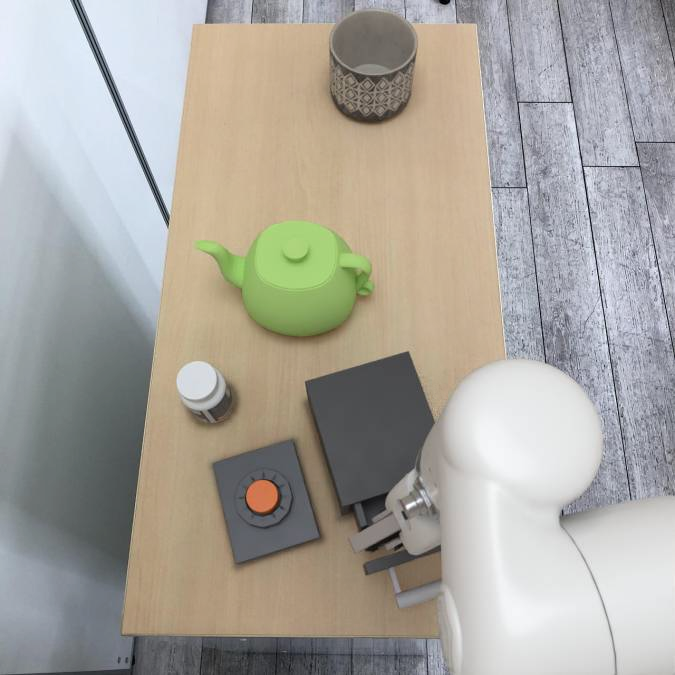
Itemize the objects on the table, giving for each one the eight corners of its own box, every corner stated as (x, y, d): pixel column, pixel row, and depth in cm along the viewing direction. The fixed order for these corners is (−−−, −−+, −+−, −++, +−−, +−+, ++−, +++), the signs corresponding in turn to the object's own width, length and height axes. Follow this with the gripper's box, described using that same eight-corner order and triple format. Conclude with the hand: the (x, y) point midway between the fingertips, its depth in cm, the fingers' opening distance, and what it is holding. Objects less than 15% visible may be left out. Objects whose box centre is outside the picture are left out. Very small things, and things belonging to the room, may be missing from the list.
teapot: (205, 338, 84) (183, 296, 72) (221, 241, 90) (202, 186, 77) (370, 349, 83) (375, 309, 71) (375, 250, 89) (381, 197, 77)
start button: (282, 508, 72) (281, 506, 71) (252, 517, 72) (250, 516, 70) (274, 478, 74) (273, 475, 72) (244, 487, 73) (242, 485, 72)
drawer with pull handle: (471, 583, 72) (486, 582, 65) (377, 614, 71) (381, 618, 64) (419, 436, 78) (427, 420, 71) (331, 463, 77) (330, 450, 70)
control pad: (320, 538, 75) (319, 536, 71) (238, 564, 74) (233, 563, 70) (293, 442, 79) (291, 435, 75) (215, 466, 78) (209, 460, 74)
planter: (352, 52, 102) (353, -3, 93) (423, 79, 100) (432, 25, 91) (316, 108, 98) (313, 55, 89) (389, 137, 96) (395, 87, 86)
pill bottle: (229, 376, 82) (215, 349, 73) (240, 417, 80) (227, 395, 71) (186, 389, 82) (166, 364, 72) (196, 430, 80) (177, 410, 70)
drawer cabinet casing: (440, 485, 77) (453, 471, 68) (342, 516, 76) (342, 506, 67) (401, 376, 82) (408, 350, 73) (308, 403, 81) (304, 381, 72)
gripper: (382, 596, 37) (370, 594, 53) (625, 466, 40) (544, 501, 56) (326, 480, 40) (331, 512, 55) (558, 365, 42) (499, 427, 58)
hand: (437, 507), depth 55 cm, fingers open, 9 cm apart
